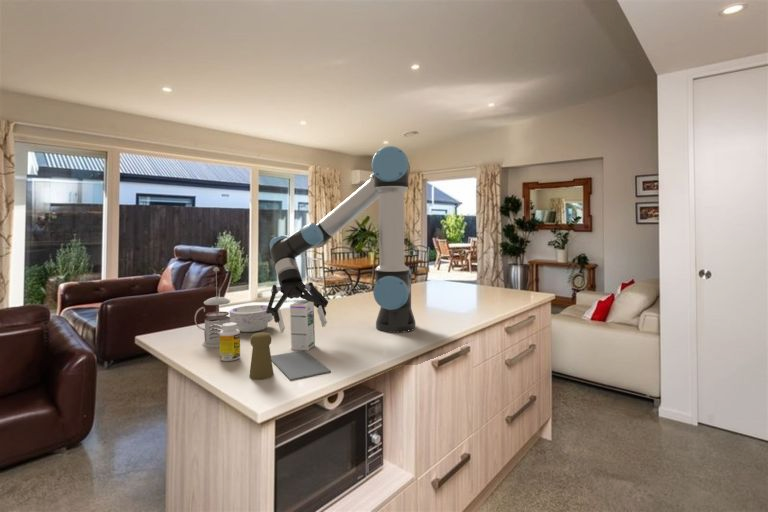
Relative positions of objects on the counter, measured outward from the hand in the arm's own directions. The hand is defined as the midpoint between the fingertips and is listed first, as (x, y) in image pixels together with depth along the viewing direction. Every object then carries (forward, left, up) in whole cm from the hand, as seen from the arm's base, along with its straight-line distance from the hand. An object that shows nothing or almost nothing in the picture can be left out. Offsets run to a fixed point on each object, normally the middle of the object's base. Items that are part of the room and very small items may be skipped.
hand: (304, 327), depth 122 cm
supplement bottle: (+21, +7, -7) cm, 23 cm away
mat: (+1, +14, -7) cm, 15 cm away
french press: (+30, -9, -7) cm, 32 cm away
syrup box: (+1, -2, -7) cm, 7 cm away
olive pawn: (+9, +21, -7) cm, 24 cm away
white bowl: (+22, -26, -7) cm, 35 cm away
